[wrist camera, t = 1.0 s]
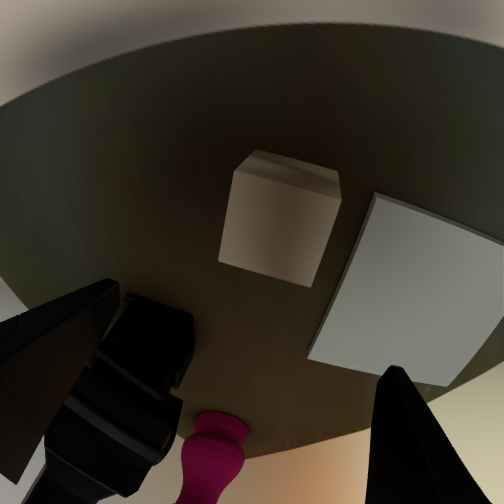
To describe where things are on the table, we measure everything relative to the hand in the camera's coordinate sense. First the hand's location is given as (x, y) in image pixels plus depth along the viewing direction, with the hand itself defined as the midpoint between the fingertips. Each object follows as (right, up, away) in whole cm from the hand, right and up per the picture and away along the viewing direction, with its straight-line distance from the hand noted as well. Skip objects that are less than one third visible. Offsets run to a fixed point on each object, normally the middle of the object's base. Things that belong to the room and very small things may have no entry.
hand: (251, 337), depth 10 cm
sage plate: (+13, -2, +12) cm, 17 cm away
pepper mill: (-3, -18, +26) cm, 32 cm away
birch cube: (+2, +6, +10) cm, 12 cm away
